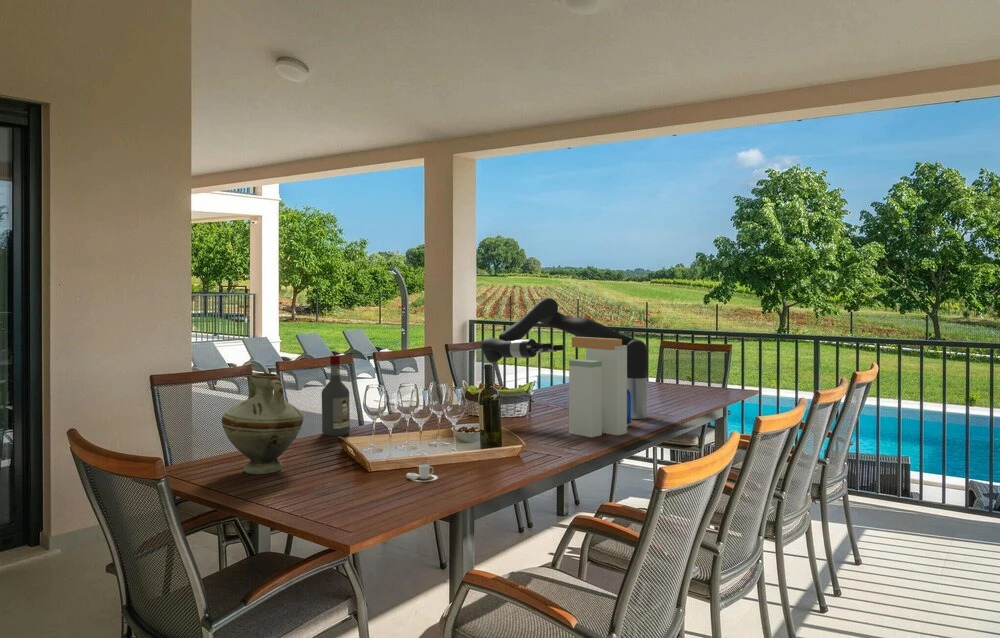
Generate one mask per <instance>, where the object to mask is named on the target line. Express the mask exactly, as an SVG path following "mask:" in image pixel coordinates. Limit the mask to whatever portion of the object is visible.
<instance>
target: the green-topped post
mask: <svg viewBox="0 0 1000 638" xmlns="http://www.w3.org/2000/svg"><path fill="white" fill-rule="evenodd" d="M568 407H569V408H568V414H569V415H568V420H569V421H568V425H569V426H568V427H569V428H568V429H569V430H568V433H569V434H571V435H575V436H576V435H577V436H580V437H581V436H583V437H587V438H595V437H596V438H597V437H600V436H602V435H603V433H602V361H594V360H586V359H583V358H582V359H580V358H579V359H577V358H576V359H570V360H568Z"/></svg>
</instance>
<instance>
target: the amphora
mask: <svg viewBox="0 0 1000 638" xmlns="http://www.w3.org/2000/svg"><path fill="white" fill-rule="evenodd" d="M280 378H281V376H280V375H279V374H276V373H270V372H268V373H267V372H255V373H252V374H250V380H249V382H248V397H247V399H246V400H243V401H241V402H239V403H237V404H235V405H233V406H232V407H230V408H229V409H228V410H226V411H225V412H224V413H223V414H222V417H221V424H222V425H221V426H222V429H223V431H224V433H225V435H226V437H227V439H228V440H229V442H230V443H231V444H232V445H233V446H234V447H235V449H237V451H239V452H240V453H241V454H242V455H243V456H244V457H246V458H248V460H250V462H247V463H246V464H245V465H244V466H243V471H244V472H245V473H246V474H249V475H250V474H251V475H266V474H273V473H277V472H279V471H281V470H282V469H283V463H282V462H281V461H280V460H278V459H279V457H281V456H282V455H283V454H284V453H285V451H286V450H287V449H288V448H289V447H290V445H291V444H292V443H293V442H294V441H295V439H296V438H297V436H298V434H299V432H300V430H301V429H302V425H303V421H304V414H303V412H302V411H301V410H300V409H299V408H297V407H296V406H294V405H292V404H291V403H289V402H287V401H285V399H284V387H283V384H282V382H281V381H280Z"/></svg>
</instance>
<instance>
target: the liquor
mask: <svg viewBox="0 0 1000 638" xmlns="http://www.w3.org/2000/svg"><path fill="white" fill-rule="evenodd" d="M329 358H330V359H329V362H330V379H329V382H327V384H326V385H325V386H324V387H323V388H322V390H321V432H322V435H324V436H326V437H327V436H330V437H342V436H344V435H348V434H349V433H350V432H351V429H350V428H351V427H350V425H351V420H350V419H351V417H350V410H351V409H350V391H349V388H348V387H347V386H346V385H345V384H344V383H343V382H342V379H341V373H340V372H341V370H340V369H341V368H340V364H341V359H340V358H341V355H330V356H329Z"/></svg>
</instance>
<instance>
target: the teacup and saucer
mask: <svg viewBox="0 0 1000 638" xmlns="http://www.w3.org/2000/svg"><path fill="white" fill-rule="evenodd" d="M430 469H432V472H431V473H430ZM418 472H419V473H414V472H408V473H406V476H405V477H406V478H407V479H408V480H411V481H413V482H421V483H423V482H424V483H425V482H426V483H427V482H433V481H436V480H438V479H439V477H438V475H435V474H433V473H434V467H433V466H430V464H425V463H424V464H419V465H418ZM429 477H432V479H429V480H427V479H428V478H429ZM419 478H420V479H421V480H418V479H419Z"/></svg>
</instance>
